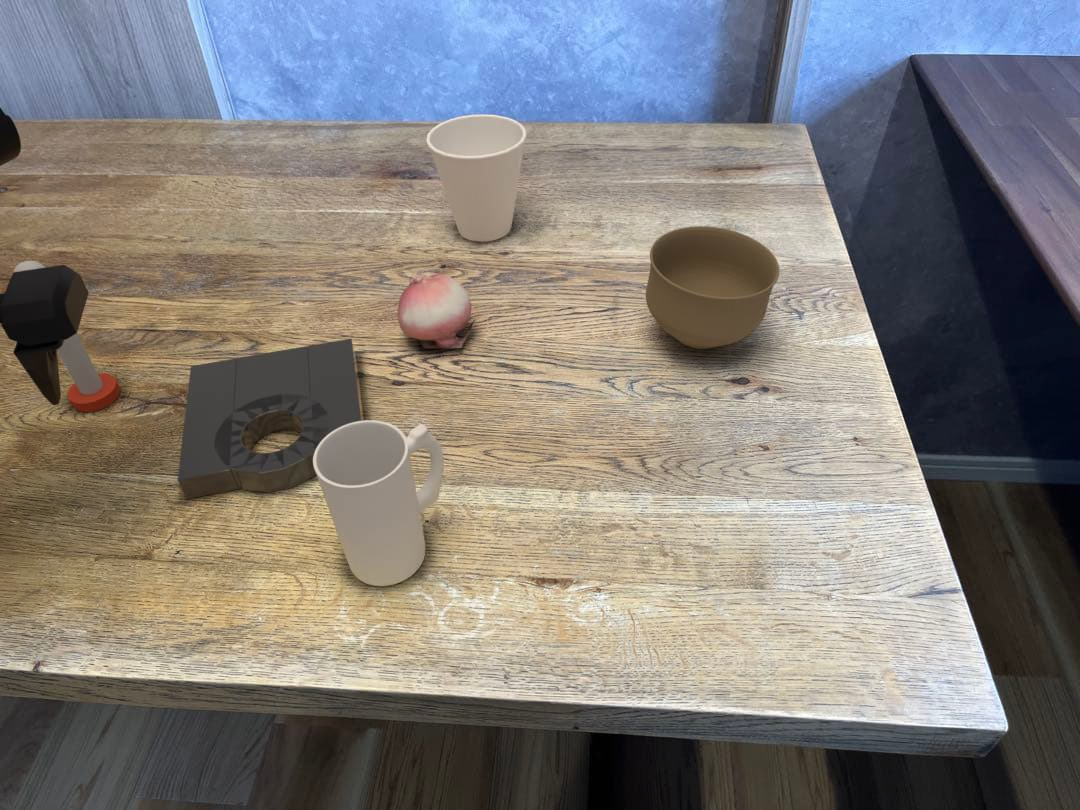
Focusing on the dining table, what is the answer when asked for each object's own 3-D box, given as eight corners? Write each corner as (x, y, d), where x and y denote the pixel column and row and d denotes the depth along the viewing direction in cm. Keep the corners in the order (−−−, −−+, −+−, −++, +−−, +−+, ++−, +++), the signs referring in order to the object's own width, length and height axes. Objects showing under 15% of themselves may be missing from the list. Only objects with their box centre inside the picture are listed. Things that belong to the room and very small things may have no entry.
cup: (535, 205, 108) (531, 114, 100) (525, 253, 99) (520, 157, 91) (447, 204, 109) (436, 113, 101) (430, 251, 101) (416, 156, 92)
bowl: (763, 383, 80) (780, 299, 74) (635, 367, 83) (639, 284, 76) (767, 309, 89) (782, 228, 83) (651, 296, 92) (657, 217, 85)
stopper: (86, 418, 80) (9, 283, 69) (63, 399, 82) (-14, 266, 72) (129, 394, 83) (62, 260, 72) (106, 376, 85) (38, 243, 74)
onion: (457, 307, 92) (451, 251, 87) (488, 343, 87) (483, 286, 82) (391, 329, 89) (380, 274, 84) (419, 368, 84) (409, 311, 79)
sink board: (185, 509, 71) (176, 489, 69) (198, 384, 83) (190, 365, 82) (370, 472, 73) (365, 453, 72) (356, 357, 86) (351, 338, 84)
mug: (376, 605, 63) (346, 503, 55) (329, 555, 67) (294, 452, 59) (476, 533, 68) (462, 429, 60) (428, 490, 72) (408, 386, 63)
